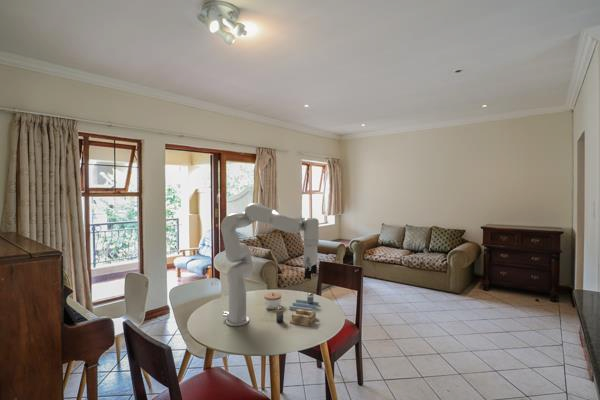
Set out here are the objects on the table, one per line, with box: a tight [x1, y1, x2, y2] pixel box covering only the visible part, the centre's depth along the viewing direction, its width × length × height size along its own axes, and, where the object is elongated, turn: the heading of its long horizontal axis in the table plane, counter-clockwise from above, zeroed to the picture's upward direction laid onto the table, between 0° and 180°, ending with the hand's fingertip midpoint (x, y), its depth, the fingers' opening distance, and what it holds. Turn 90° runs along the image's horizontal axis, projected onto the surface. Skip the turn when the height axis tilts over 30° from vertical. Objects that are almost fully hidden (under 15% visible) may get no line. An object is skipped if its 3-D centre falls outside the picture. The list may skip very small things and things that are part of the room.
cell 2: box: [306, 292, 314, 305], centre depth 184 cm, size 4×4×8 cm
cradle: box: [289, 309, 317, 327], centre depth 164 cm, size 12×10×4 cm
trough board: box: [288, 298, 320, 312], centre depth 182 cm, size 16×13×3 cm
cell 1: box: [275, 306, 284, 324], centre depth 164 cm, size 4×4×8 cm
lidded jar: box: [263, 292, 282, 310], centre depth 184 cm, size 11×11×9 cm
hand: (310, 276), depth 150 cm, fingers open, 9 cm apart
